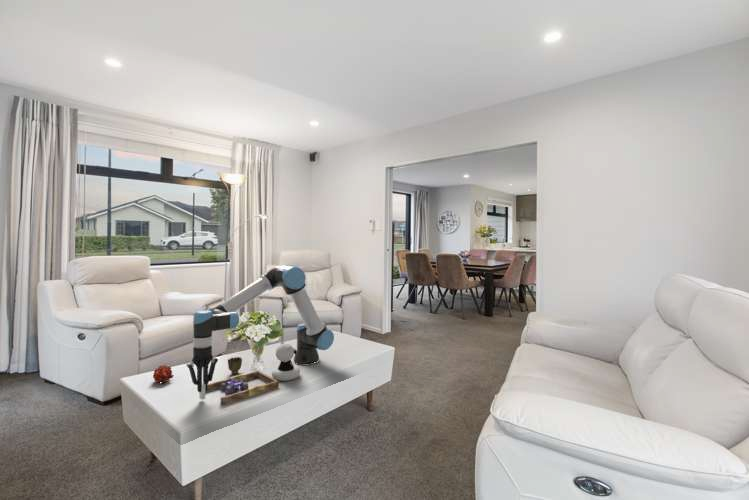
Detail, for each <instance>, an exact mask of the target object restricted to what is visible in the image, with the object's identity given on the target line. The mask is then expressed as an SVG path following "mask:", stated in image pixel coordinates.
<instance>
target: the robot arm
mask: <svg viewBox="0 0 749 500" xmlns="http://www.w3.org/2000/svg"><path fill="white" fill-rule="evenodd" d="M306 277H307V276H306V274H305V272H304V270H303V269H301V267H298V266H294V265H290V266H289V265H277V266H275V267H273V268H270V269H269V270H268V271H267V270H266V272H265V273H263V274H261V275H260V276H259V278H258V279H257V280H255V281H254V282H252V283H251V284H249V285H248V286H246V287H245V288H243V289H242V290H240V291H239V292H236V294H234V295H232V296H230V297H229V298H228V299H226V300H224V301H223V302H221V303H220V304H218V305H216V306H215V307H211V308H207V309H206V310H198V311H195V312H194V313H193V322H192V323H193V324H192V325H193V340H192V341H193V343H192V346H193V351H192V356H193V357H192V359H191V361H190V362H189V363H187V364H186V367H187V368H188V370H189V374H190V377H191V381H192V383H193V385H195V386H197V392H198V393H199V399H200V400H206V392H205V391H206V390H207V384H210V382H212V381H213V377H214V373H215V370H216V365H217V363H218V361H219V360H218V358H217V357H214V356H213V346H212V345H213V332H216V331H222V330H230V329H234V328H237V327H238V326H239V324H240V316H239V314H238V313H237V312H238V311H239V310H240V309H241V308H243V307H244V306H246V305H247V304H249V303H250V302H252V301H254V300H255V299H256V298H258V297H259V296H261V295H263V294H264V293H265V292H267V291H272V290H273V289H275V288H277V287H282V288H283V291H284V293H285V295H287V296H290V298H291V300H292V302H293V304H294V306H295V307H296V310H297V312H298V314H299V315H300V318H301V320H302V321H303V323H299V324H297V326H296V327H297V328H296V355H295V354H294V355H293V363H294V362H295V363H294V364H296V363H297V364H296V365H299V364H310V365H312V364H311V363H314V362H317V361H318V360H319V361H320V356H319V352H318V350H321V351H326V350H328V349H330V348H331V347H332V345H333V343H334V341H335V334H334V332H333V331H332V330H331V329H328V328H327V325H326V324H325V322H324V321H321V319H320V317H319V315H318V313H317V311H316V309H315V307H314V305H313V303H312V301H311V298H310V297H309V295H308V294H309V293H307V290H306ZM319 361H318V362H319ZM318 362H317V363H318ZM194 365H195V366H196V372H195V369H194ZM209 365H210V366H209Z"/></svg>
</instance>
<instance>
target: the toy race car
mask: <svg viewBox="0 0 749 500" xmlns="http://www.w3.org/2000/svg"><path fill="white" fill-rule="evenodd" d="M226 384H227V386H226ZM226 384H225V383H222V384H221V387H220V388H219V389H220V390H221V392H224V396H228V395H231V394H234V393H238V392H241V391H244V390H248V388H250V387H249V384H248V383H247V381H243V380H241V379H240V382H238V380H234V379H232V381H231V382H230V381H229V382H227V383H226Z"/></svg>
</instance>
